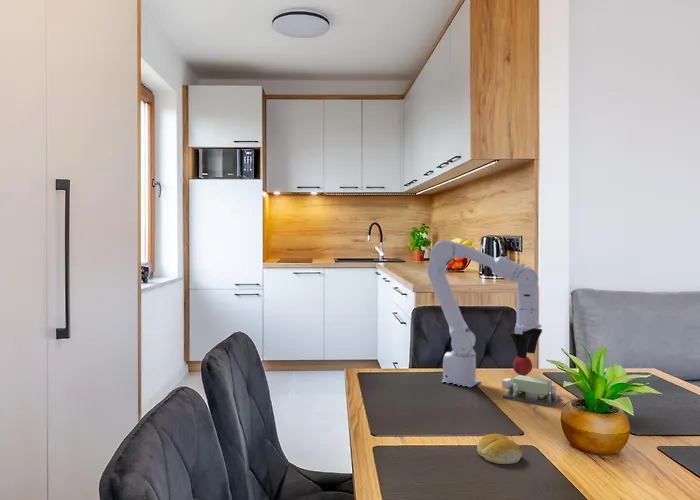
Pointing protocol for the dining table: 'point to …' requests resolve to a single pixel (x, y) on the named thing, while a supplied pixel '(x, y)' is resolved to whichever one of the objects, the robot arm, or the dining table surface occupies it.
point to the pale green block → (533, 384)
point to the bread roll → (499, 449)
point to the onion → (522, 365)
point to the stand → (505, 382)
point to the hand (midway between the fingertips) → (526, 355)
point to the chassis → (531, 396)
